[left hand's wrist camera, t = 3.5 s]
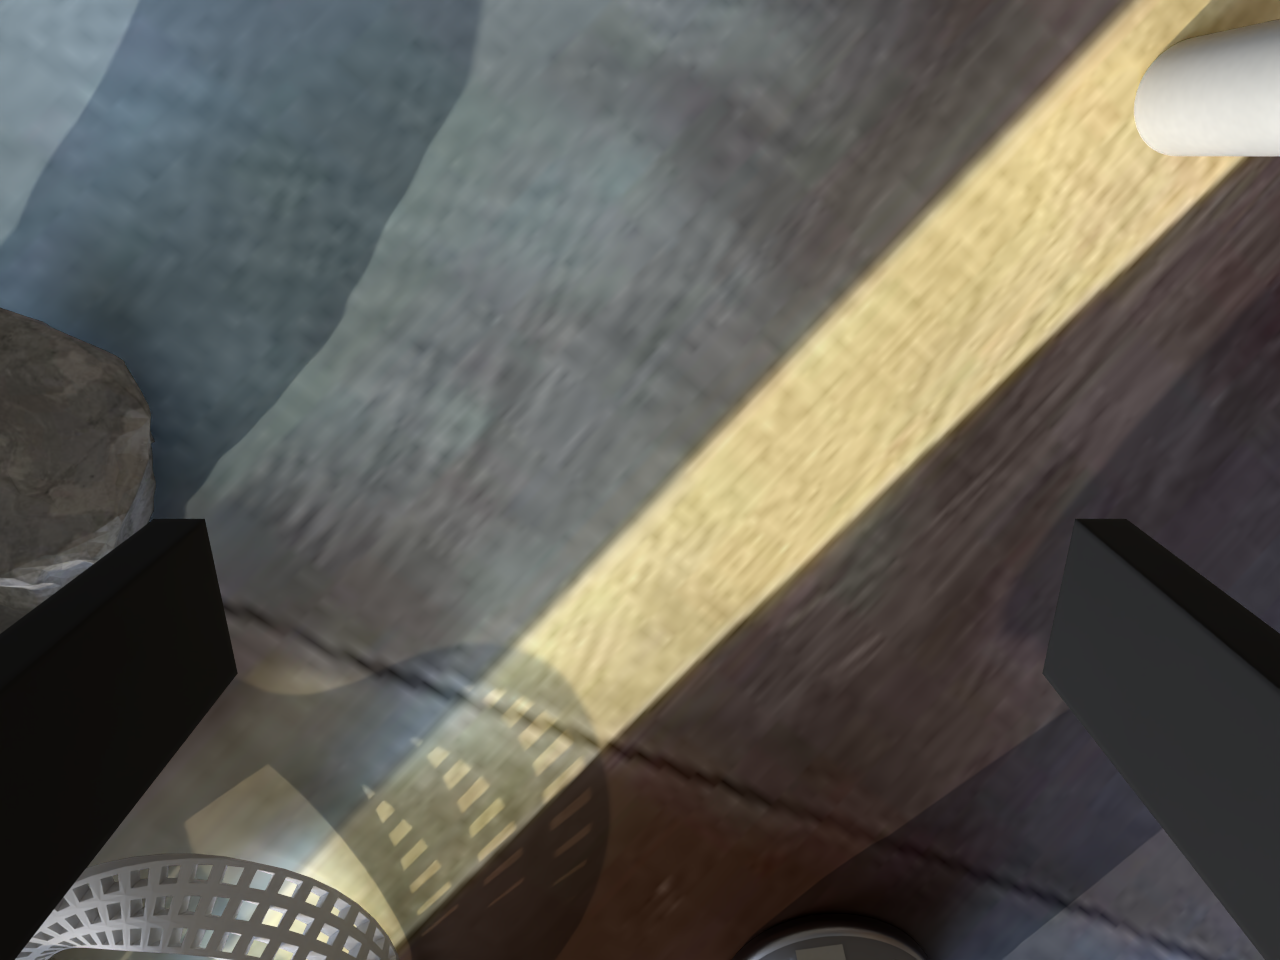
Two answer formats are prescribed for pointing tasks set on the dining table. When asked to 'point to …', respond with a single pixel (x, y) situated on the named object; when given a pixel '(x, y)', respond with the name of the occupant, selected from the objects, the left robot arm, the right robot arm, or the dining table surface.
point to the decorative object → (204, 913)
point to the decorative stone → (65, 460)
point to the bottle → (1214, 95)
